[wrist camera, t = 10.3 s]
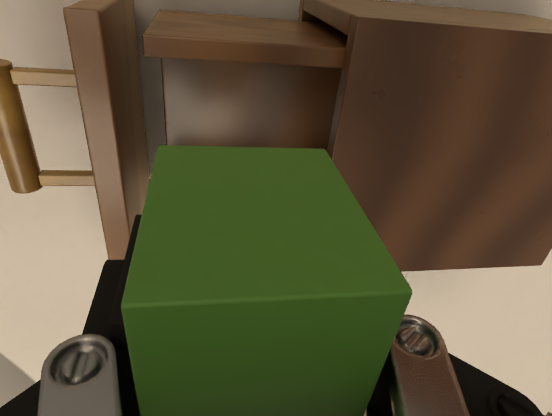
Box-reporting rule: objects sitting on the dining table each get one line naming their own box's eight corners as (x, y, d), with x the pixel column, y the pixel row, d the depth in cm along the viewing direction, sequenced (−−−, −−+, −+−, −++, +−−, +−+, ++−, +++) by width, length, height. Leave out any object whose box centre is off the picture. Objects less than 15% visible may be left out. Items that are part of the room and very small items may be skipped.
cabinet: (279, 186, 29) (309, 276, 21) (301, -8, 22) (358, 16, 14) (455, 186, 31) (541, 265, 23) (523, 14, 24) (677, 44, 17)
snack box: (171, 326, 14) (155, 512, 9) (157, 143, 10) (119, 306, 5) (295, 319, 14) (337, 485, 10) (325, 147, 11) (415, 291, 6)
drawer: (54, 185, 25) (3, 266, 18) (3, -21, 19) (-101, -6, 12) (326, 185, 28) (363, 254, 22) (359, 11, 22) (424, 36, 16)
